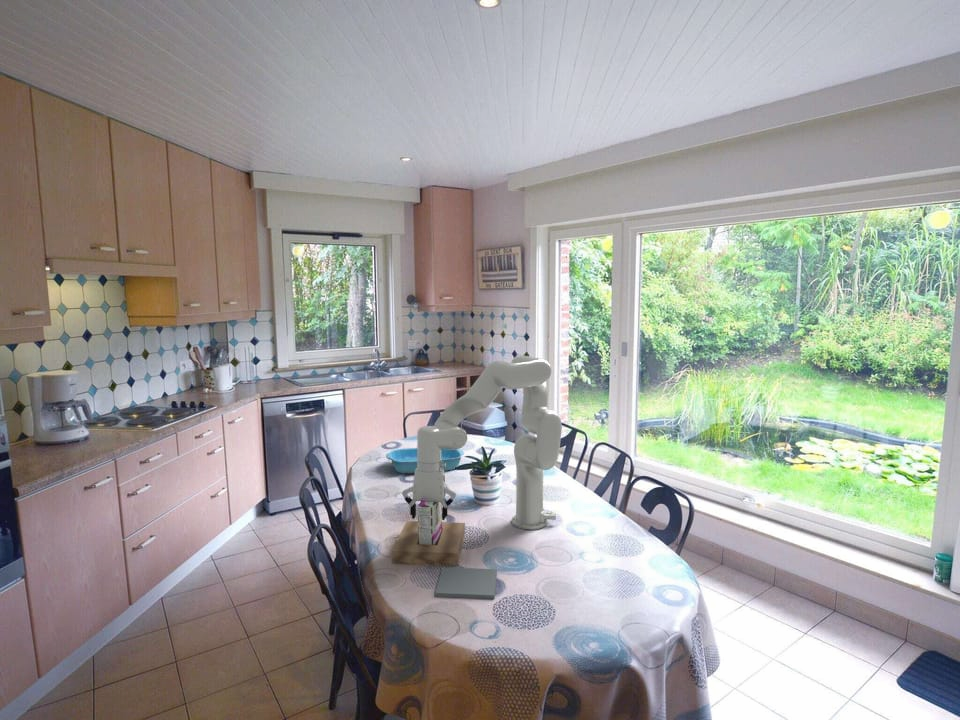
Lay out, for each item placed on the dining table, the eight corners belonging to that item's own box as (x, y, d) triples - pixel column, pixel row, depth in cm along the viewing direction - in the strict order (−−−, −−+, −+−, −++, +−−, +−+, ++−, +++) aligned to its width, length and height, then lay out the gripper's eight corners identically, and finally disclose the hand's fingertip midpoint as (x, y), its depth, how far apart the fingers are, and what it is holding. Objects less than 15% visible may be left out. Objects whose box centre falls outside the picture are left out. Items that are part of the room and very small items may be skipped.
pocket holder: (464, 534, 186) (464, 522, 185) (457, 565, 164) (457, 553, 163) (406, 532, 187) (406, 520, 187) (391, 563, 165) (391, 550, 165)
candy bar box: (428, 539, 181) (427, 492, 180) (442, 541, 180) (442, 493, 179) (417, 555, 171) (416, 504, 169) (433, 556, 170) (432, 506, 168)
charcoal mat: (496, 572, 160) (496, 569, 160) (494, 598, 146) (494, 595, 146) (442, 570, 161) (442, 567, 161) (435, 596, 147) (435, 592, 147)
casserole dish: (458, 457, 273) (458, 443, 272) (469, 471, 252) (469, 456, 251) (384, 463, 264) (383, 449, 263) (388, 478, 242) (388, 462, 242)
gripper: (457, 463, 175) (457, 514, 177) (404, 461, 177) (404, 512, 178) (455, 470, 168) (454, 523, 170) (399, 468, 169) (399, 521, 171)
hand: (428, 517), depth 174 cm, fingers open, 9 cm apart
